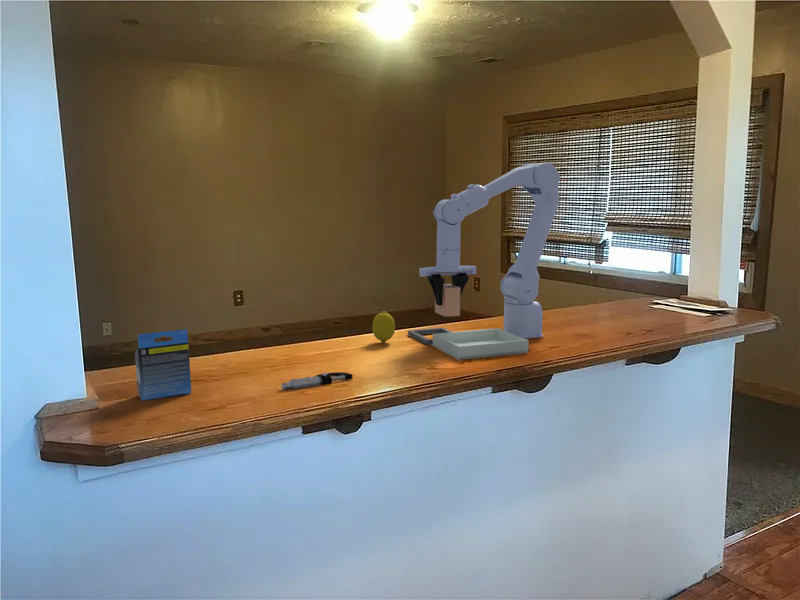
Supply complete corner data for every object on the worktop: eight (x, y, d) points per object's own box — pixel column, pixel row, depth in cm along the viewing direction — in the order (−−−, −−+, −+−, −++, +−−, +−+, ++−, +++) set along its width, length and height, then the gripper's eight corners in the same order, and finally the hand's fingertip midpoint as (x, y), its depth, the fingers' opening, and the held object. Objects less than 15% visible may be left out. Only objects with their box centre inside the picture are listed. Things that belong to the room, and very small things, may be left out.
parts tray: (497, 339, 167) (497, 328, 167) (528, 352, 155) (528, 340, 154) (432, 345, 161) (432, 333, 160) (458, 359, 148) (459, 346, 147)
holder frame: (442, 332, 176) (443, 327, 176) (463, 341, 165) (463, 337, 165) (408, 334, 172) (408, 330, 172) (427, 345, 161) (427, 340, 161)
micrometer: (340, 373, 138) (340, 361, 138) (356, 382, 132) (356, 370, 132) (271, 383, 131) (271, 371, 130) (284, 393, 125) (284, 380, 124)
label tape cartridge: (187, 388, 126) (183, 324, 124) (191, 394, 123) (188, 328, 121) (137, 395, 122) (133, 329, 120) (141, 401, 118) (136, 334, 116)
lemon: (368, 343, 162) (368, 311, 161) (379, 339, 167) (379, 308, 166) (388, 346, 160) (388, 313, 158) (398, 341, 165) (399, 310, 163)
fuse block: (449, 311, 168) (449, 283, 167) (459, 315, 163) (460, 286, 161) (434, 312, 167) (435, 284, 165) (445, 316, 161) (445, 287, 160)
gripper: (467, 246, 168) (466, 299, 170) (414, 248, 163) (414, 303, 165) (480, 249, 162) (479, 304, 164) (426, 251, 156) (425, 308, 159)
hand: (447, 304), depth 164 cm, fingers closed on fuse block, 4 cm apart
